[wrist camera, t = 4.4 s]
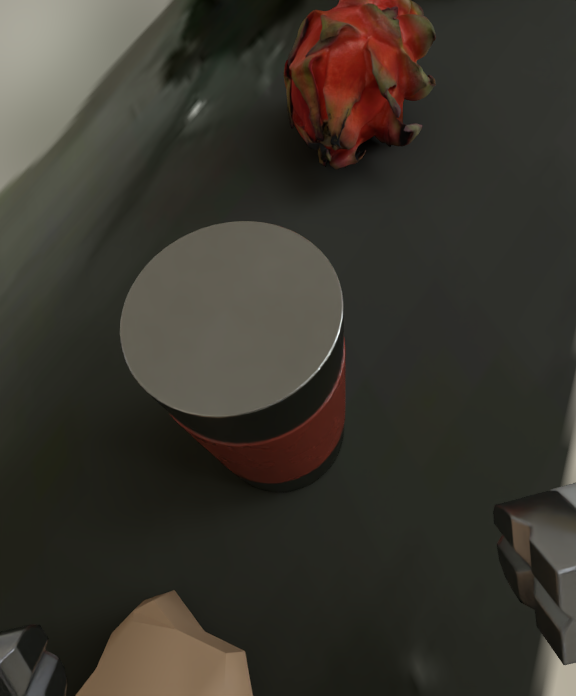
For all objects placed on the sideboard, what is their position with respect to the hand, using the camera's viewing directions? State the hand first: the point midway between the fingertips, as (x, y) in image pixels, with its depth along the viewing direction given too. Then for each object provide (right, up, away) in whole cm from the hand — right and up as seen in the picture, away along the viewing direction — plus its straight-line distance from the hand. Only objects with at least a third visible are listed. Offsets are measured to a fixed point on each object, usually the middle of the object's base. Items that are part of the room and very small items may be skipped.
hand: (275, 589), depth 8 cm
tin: (0, 0, +14) cm, 14 cm away
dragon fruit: (+5, +18, +22) cm, 29 cm away
